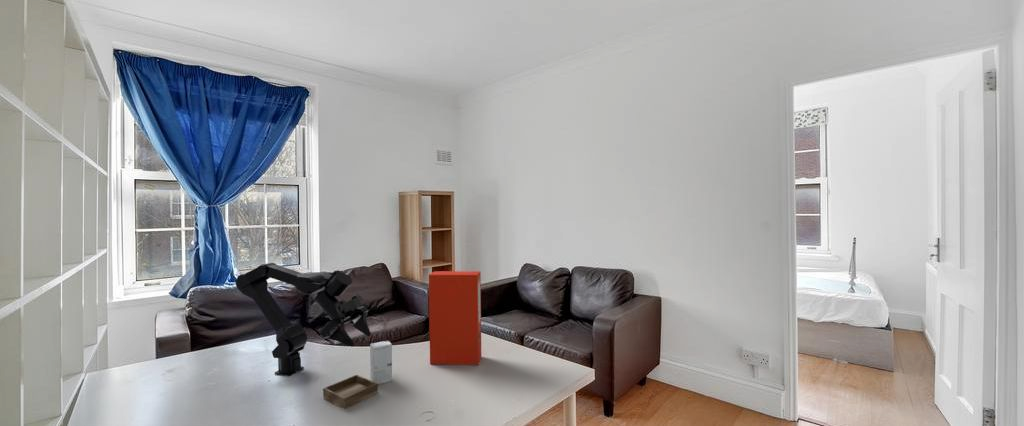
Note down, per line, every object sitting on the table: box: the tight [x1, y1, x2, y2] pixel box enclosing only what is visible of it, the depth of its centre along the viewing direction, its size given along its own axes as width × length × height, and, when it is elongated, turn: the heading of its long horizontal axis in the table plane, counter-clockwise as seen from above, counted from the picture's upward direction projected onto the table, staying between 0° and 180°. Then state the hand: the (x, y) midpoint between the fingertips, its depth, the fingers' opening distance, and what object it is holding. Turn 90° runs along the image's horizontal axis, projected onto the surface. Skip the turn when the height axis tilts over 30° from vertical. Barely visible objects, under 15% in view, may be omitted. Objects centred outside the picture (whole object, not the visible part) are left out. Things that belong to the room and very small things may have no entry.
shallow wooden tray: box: [322, 374, 379, 410], centre depth 117 cm, size 11×11×3 cm
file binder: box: [428, 270, 482, 366], centre depth 142 cm, size 8×17×32 cm, turn 86°
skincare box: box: [369, 340, 393, 385], centre depth 127 cm, size 6×4×12 cm
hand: (362, 340), depth 128 cm, fingers open, 9 cm apart
